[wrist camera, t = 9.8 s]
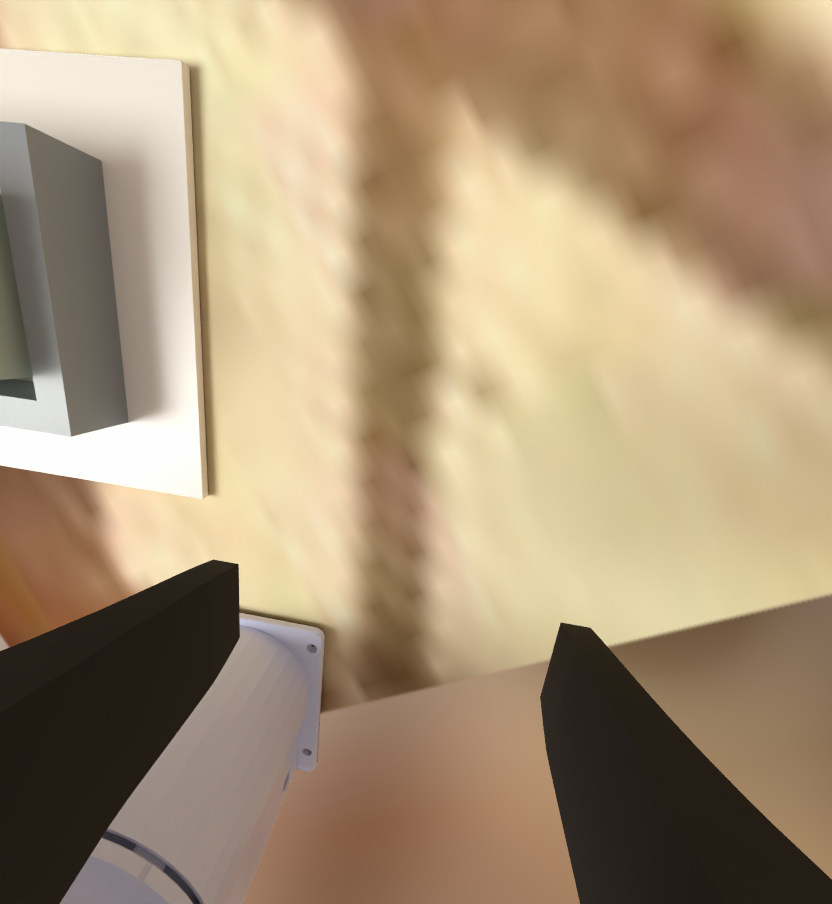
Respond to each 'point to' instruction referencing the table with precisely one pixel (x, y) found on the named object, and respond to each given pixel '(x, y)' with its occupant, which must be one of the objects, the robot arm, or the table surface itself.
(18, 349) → the key block
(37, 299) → the slot holder
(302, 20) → the table surface
